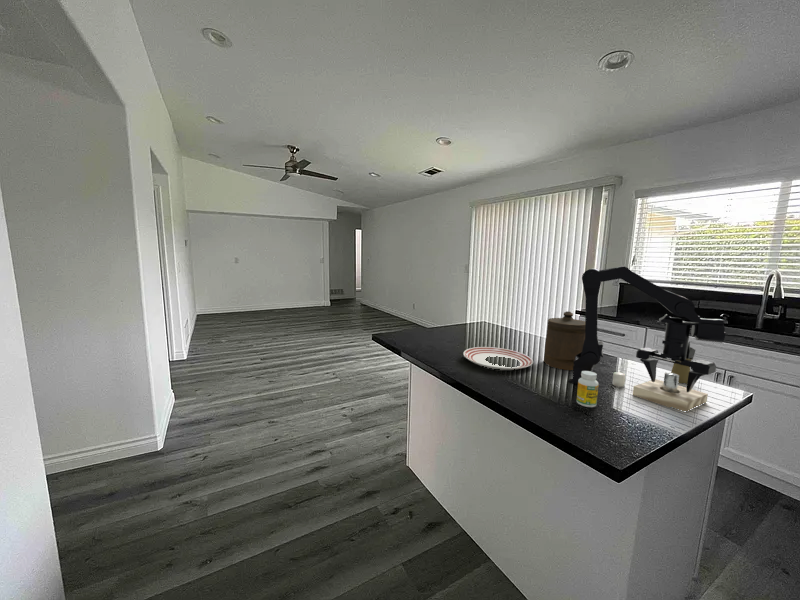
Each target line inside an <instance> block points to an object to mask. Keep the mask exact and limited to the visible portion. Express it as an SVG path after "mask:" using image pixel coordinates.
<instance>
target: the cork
mask: <svg viewBox="0 0 800 600" xmlns="http://www.w3.org/2000/svg"><path fill="white" fill-rule="evenodd" d="M686 360H690V361H693V360H692V359H686ZM676 361H677V360H676ZM679 362H681V361H679ZM690 371H691V367H688V366H684V365H680V364H676V363H672V369H671V372H670V373H674V374H677V375H679V381H678V382H679V383H678V384H682V383H686V384H685V385H687V381H688V375H689V372H690Z"/></svg>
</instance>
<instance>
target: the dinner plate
mask: <svg viewBox="0 0 800 600" xmlns="http://www.w3.org/2000/svg"><path fill="white" fill-rule="evenodd" d="M462 354H463V357H464V358H465V359H467V360H468V361H470V362H471V363H473V364H475V365H478V366H480V367H482V366H484V367H483V368H485V367H487V368H486V369H489V368H492V369H491V370H494V369H500V370H499V371H513V370H514V369H515V370H519V369H525V368H528V367H530V366H532V365H533V364H534V360H533V358H532V357H530V356H528V355H527V354H525V353H523V352H520V351H517V350H512V349H509V348H502V347H495V346H493V347H492V346H476V347H470V348H467V349H465V350H464V351H463V353H462ZM489 356H490V357H496V356H498V357H505V358H511V359H515V360H518V361H519V362H520V363H521V364H520V366H517V367H512V368H511V367H505V365H504V366H503V365H502V366H499V365H498V364H495V365H494V364H493V365H492V363H489V362H488V361H486V360H485V359H486V358H487V357H489ZM515 370H514V371H515Z"/></svg>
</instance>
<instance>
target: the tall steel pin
mask: <svg viewBox="0 0 800 600" xmlns="http://www.w3.org/2000/svg"><path fill="white" fill-rule="evenodd" d="M663 381H664V383H663V391H667V392H670V393H677V388H678V386H679V383H678V381H679V375H677V374H674V373H671V372H665V373H664V377H663Z"/></svg>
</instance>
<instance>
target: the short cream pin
mask: <svg viewBox="0 0 800 600" xmlns="http://www.w3.org/2000/svg"><path fill="white" fill-rule="evenodd" d="M625 383H626V374H625V373H623V372H619V371H617V372H616V371H615V372H613V375H612V384H611V385H613V386H615V387H617V388H618V387H619V388H624V387H625V385H626V384H625Z"/></svg>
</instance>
